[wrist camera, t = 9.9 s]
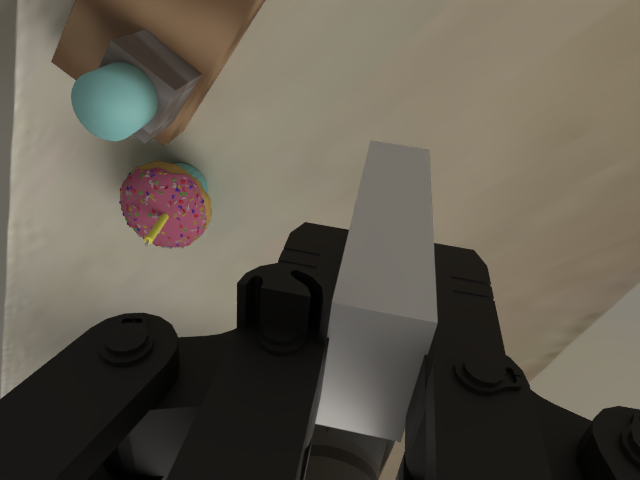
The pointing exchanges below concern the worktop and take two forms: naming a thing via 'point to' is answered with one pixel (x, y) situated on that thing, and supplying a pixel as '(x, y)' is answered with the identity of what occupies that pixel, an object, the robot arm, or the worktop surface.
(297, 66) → the worktop surface
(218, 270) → the worktop surface
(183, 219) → the cupcake
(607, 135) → the worktop surface
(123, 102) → the knob
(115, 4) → the mount
